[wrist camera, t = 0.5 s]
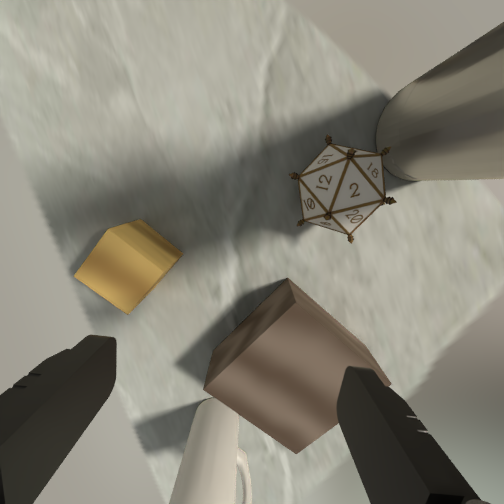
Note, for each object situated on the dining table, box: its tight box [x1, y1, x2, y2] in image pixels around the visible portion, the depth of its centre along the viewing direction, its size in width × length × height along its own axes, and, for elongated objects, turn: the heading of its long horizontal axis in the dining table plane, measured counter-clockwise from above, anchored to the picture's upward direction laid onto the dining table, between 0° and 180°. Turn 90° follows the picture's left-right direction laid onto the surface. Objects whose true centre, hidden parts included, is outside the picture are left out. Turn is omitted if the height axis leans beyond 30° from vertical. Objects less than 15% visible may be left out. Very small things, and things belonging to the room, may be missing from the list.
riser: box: [203, 278, 391, 454], centre depth 27 cm, size 14×14×6 cm
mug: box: [169, 398, 252, 504], centre depth 28 cm, size 10×7×12 cm, turn 47°
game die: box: [289, 134, 396, 244], centre depth 21 cm, size 9×8×10 cm
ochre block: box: [74, 219, 183, 315], centre depth 24 cm, size 6×6×6 cm
